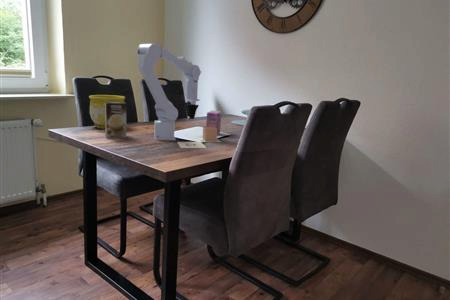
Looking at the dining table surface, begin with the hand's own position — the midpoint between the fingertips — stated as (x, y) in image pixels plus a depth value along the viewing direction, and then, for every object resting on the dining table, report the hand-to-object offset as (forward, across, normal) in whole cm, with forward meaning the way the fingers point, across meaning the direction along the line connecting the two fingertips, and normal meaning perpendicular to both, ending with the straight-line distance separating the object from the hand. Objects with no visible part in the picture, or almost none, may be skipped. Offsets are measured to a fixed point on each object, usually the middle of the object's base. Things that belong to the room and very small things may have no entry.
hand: (190, 117), depth 168 cm
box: (+10, +7, -14) cm, 18 cm away
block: (+9, -11, -8) cm, 16 cm away
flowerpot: (+10, +24, +41) cm, 48 cm away
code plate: (+9, -21, +3) cm, 23 cm away
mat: (+9, -11, -8) cm, 17 cm away
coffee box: (+10, -2, +35) cm, 37 cm away
